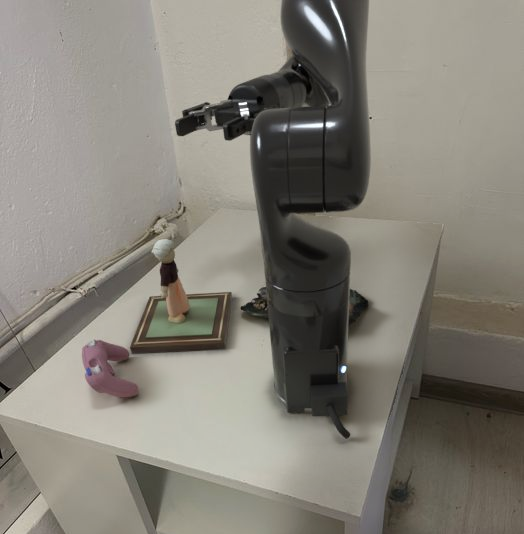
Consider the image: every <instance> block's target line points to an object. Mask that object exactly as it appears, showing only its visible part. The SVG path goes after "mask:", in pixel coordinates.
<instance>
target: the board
mask: <svg viewBox="0 0 524 534" xmlns="http://www.w3.org/2000/svg"><path fill="white" fill-rule="evenodd" d="M186 296H187V298H188V301H189V304H190V309H189V310H188V311H187V313H185V314H183V315H184V316H185V318H186V319H185V321H184V322H182V323H174V322H170V321H169V320H168V318H169V316H170V315H169V313H168V307H167V301H166V298H162V297H161V295H157V296H155V295H151V296H149V298H148V300H147V303H146V305H145V307H144V310H143V313H142V315H141V317H140V321H139V323H138V326H137V328H136V330H135V332H134V336H133V338H132V341H131V343H130V346H129V349H130V352H131V354H133V355H134V354H152V353H170V352H171V353H172V352H173V353H174V352H192V351H211V350H212V351H213V350H225V349H226V345H227V338H228V337H227V336H228V332H229V325H230V316H231V309H232V303H233V292H232V291H224V292H223V291H222V292H204V293H188V294H186Z"/></svg>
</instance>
